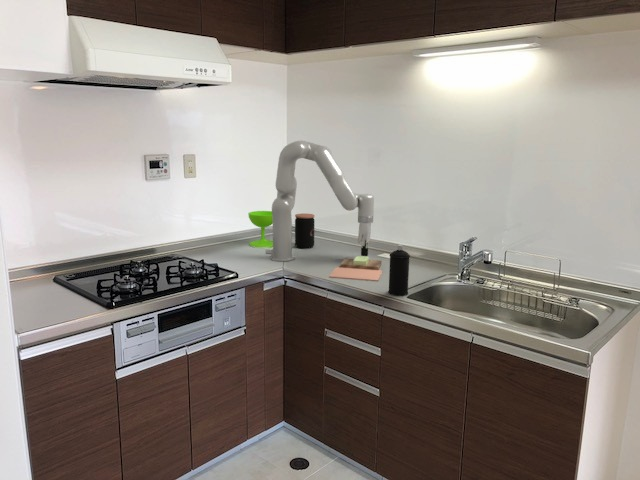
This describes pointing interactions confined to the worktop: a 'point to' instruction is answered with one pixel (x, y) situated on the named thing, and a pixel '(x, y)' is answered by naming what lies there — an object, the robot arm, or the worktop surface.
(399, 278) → the aerosol can
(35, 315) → the worktop surface
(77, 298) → the worktop surface
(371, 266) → the plate
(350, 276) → the mat
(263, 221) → the wineglass
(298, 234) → the coffee jar
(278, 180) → the robot arm
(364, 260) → the sponge
